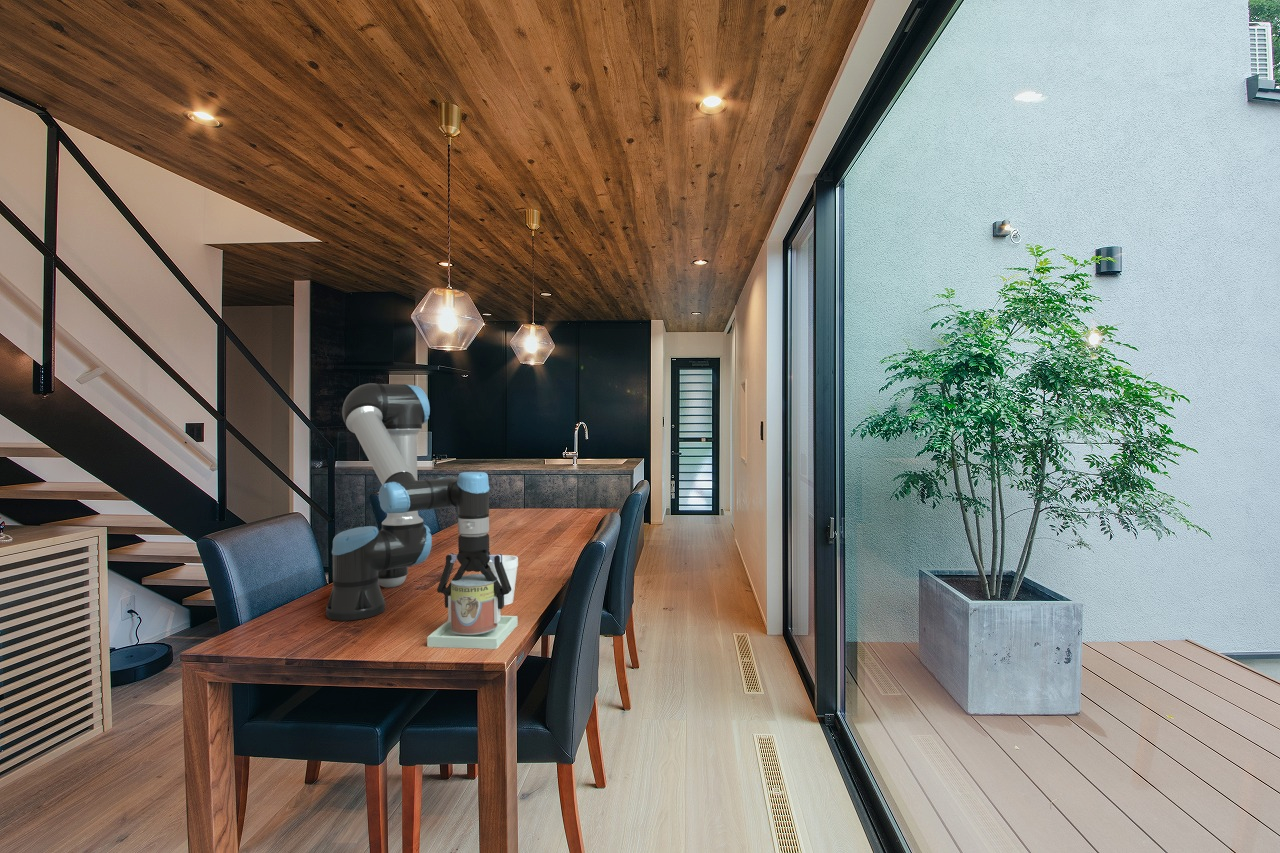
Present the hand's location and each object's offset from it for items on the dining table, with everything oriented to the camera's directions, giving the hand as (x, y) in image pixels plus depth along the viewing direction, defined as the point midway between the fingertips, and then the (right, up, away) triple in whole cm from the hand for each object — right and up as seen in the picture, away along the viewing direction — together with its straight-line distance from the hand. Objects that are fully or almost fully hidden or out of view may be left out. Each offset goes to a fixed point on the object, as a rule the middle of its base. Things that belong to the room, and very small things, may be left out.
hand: (474, 621), depth 155 cm
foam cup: (+1, -4, +28) cm, 28 cm away
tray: (0, -4, 0) cm, 4 cm away
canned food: (0, -2, 0) cm, 2 cm away
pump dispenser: (-40, -3, +47) cm, 62 cm away
